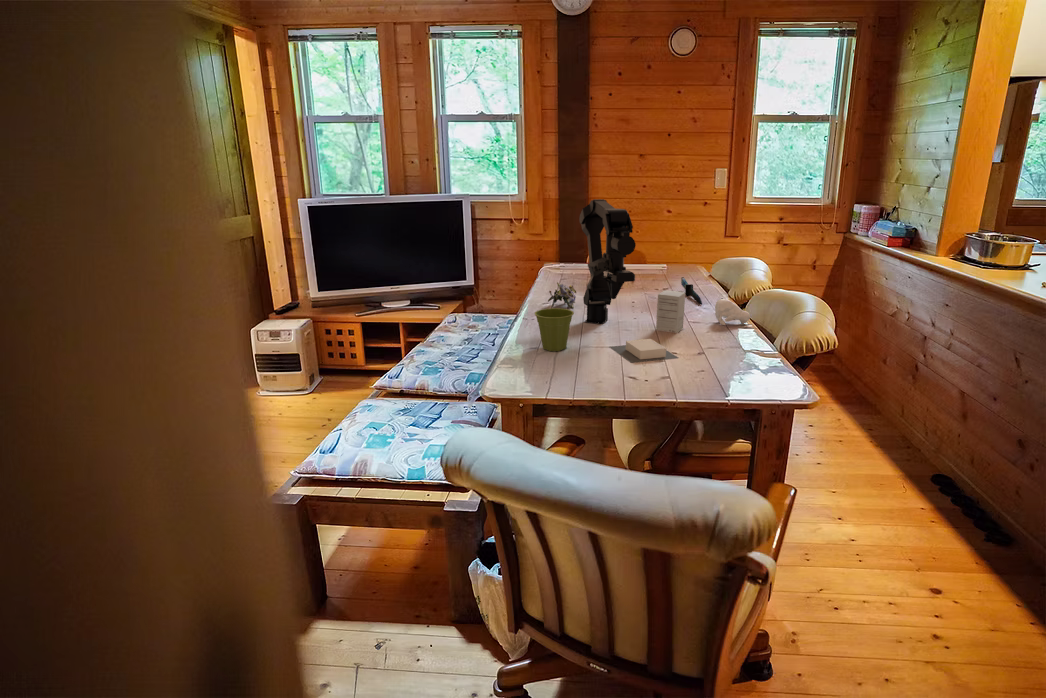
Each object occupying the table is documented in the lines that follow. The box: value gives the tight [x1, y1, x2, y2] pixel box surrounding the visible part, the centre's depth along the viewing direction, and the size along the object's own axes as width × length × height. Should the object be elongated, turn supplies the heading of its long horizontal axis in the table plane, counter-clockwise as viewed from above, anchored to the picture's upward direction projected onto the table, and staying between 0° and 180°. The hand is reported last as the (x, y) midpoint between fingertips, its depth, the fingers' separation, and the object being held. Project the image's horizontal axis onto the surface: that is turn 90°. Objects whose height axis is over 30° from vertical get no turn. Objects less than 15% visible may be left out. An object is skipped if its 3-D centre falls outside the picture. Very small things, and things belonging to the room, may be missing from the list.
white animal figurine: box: [714, 298, 751, 326], centre depth 211 cm, size 6×8×12 cm
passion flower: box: [547, 282, 577, 309], centre depth 237 cm, size 11×11×12 cm
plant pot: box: [534, 307, 575, 352], centre depth 186 cm, size 12×12×11 cm
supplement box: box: [655, 290, 686, 334], centre depth 204 cm, size 7×7×13 cm
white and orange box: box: [625, 338, 667, 360], centre depth 180 cm, size 3×8×10 cm
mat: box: [609, 344, 679, 364], centre depth 182 cm, size 16×15×1 cm
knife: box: [680, 276, 703, 306], centre depth 251 cm, size 31×3×4 cm, turn 177°
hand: (613, 298), depth 197 cm, fingers closed
